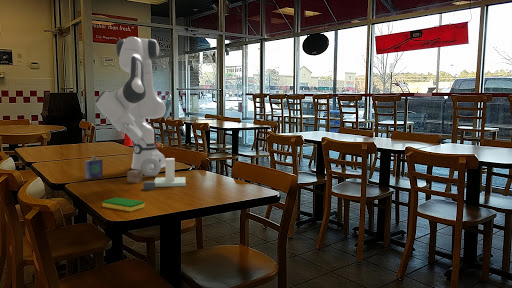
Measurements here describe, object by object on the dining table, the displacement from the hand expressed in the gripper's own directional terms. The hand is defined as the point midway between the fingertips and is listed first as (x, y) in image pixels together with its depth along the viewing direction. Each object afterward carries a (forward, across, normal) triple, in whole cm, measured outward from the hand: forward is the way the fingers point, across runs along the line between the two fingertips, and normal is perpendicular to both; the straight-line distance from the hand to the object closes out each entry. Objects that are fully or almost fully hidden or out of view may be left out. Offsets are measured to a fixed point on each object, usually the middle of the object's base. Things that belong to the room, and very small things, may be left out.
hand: (145, 145), depth 189 cm
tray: (+20, -2, +3) cm, 21 cm away
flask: (-3, +17, +31) cm, 35 cm away
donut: (+15, +16, +10) cm, 24 cm away
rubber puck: (+14, -13, +10) cm, 22 cm away
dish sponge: (+9, -42, +17) cm, 46 cm away
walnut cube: (+10, +5, +16) cm, 19 cm away
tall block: (+19, -2, +2) cm, 19 cm away
